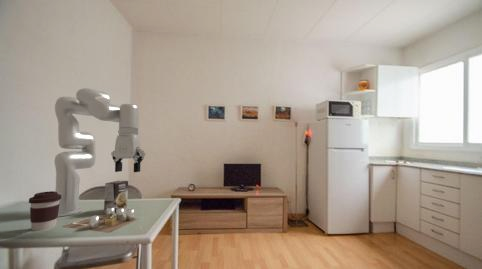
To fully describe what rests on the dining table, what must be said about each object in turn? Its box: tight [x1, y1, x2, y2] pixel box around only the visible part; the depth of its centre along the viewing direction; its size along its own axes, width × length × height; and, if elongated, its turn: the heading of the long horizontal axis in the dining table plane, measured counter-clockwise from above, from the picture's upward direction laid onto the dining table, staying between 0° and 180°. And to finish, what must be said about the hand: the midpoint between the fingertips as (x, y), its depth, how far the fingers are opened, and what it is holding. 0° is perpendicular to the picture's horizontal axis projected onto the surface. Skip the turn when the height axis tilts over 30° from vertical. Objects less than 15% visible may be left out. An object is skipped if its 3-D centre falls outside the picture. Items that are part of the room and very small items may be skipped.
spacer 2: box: [106, 207, 116, 217], centre depth 98 cm, size 3×3×4 cm
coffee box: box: [103, 180, 129, 215], centre depth 108 cm, size 9×6×16 cm
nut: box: [104, 215, 117, 225], centre depth 91 cm, size 4×5×2 cm
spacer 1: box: [89, 214, 100, 229], centre depth 85 cm, size 3×3×4 cm
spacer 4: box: [125, 208, 135, 221], centre depth 95 cm, size 3×3×4 cm
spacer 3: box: [115, 208, 125, 220], centre depth 96 cm, size 3×3×4 cm
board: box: [62, 214, 139, 234], centre depth 91 cm, size 24×16×1 cm, turn 76°
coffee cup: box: [28, 190, 62, 231], centre depth 87 cm, size 10×10×15 cm
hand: (127, 171), depth 91 cm, fingers open, 9 cm apart
